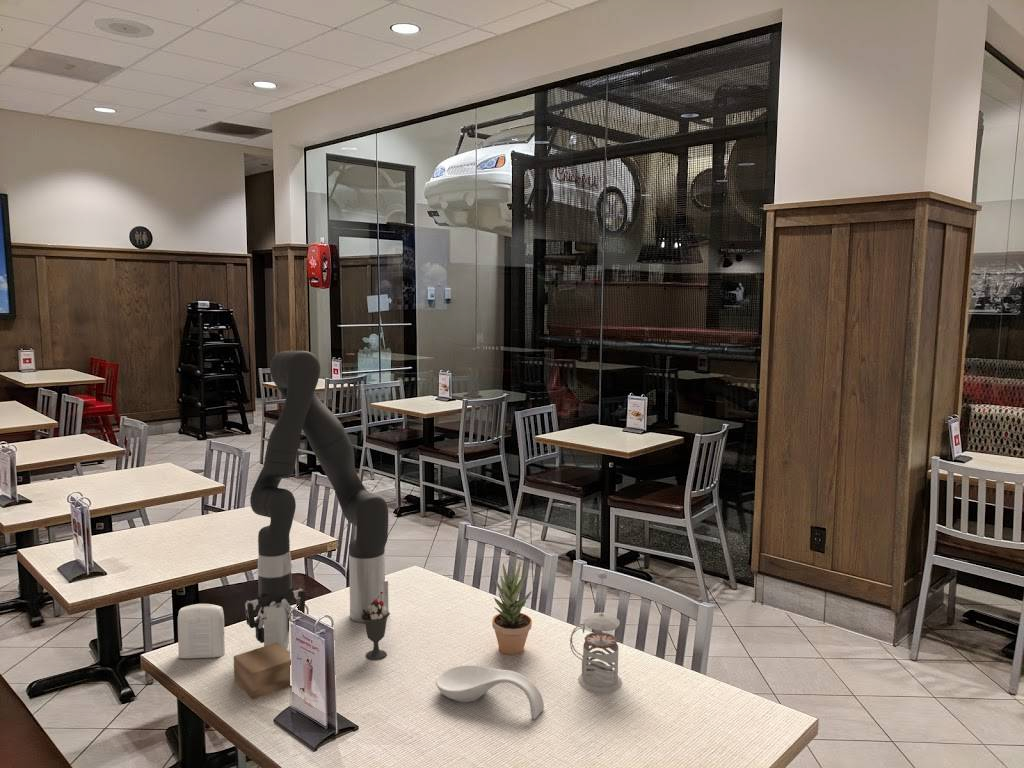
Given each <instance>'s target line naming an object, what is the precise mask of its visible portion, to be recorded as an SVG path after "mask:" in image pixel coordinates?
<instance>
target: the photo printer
mask: <svg viewBox="0 0 1024 768" xmlns="http://www.w3.org/2000/svg"><path fill="white" fill-rule="evenodd" d="M177 639H178V640H177V641H178V643H177V644H178V648H177V649H178V658H179V659H204V658H205V659H206V658H220V657H223V656H224V655H225V652H226V649H225V648H226V646H225V645H226V644H225V642H226V641H225V639H226V638H225V614H224V609H223V607H222V606H220V605H216V604H212V603H211V604H210V603H196V604H190V605H186V606H183V607H181V608H180V609H179V610H178V616H177Z"/></svg>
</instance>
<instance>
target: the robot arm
mask: <svg viewBox="0 0 1024 768" xmlns="http://www.w3.org/2000/svg"><path fill="white" fill-rule="evenodd" d="M269 372H270V376H271V379H272V381H273V383H274V384H275V386H276V388H277V389H278V391H279V392H280V394H281V395H282V397H283V398H284V400H285V402H284V406H283V407H282V411H281V413H280V415H279V417H278V419H277V420H276V422H275V424H274V426H273V428H272V429H271V430H272V431H271V433H270V434H269V438H268V441H267V444H266V450H265V454H264V455H265V456H264V460H263V467H261V471H260V472H259V474H258V476H257V479H256V481H255V484H254V485H253V488H252V490H251V494H250V498H249V500H250V501H249V502H250V508H251V510H252V512H254V514H256V515H258V516H261V517H266V518H270V522H269V523H270V524H269V525H267V526H263V527H261V528H260V529H259V531H258V536H257V545H258V546H257V549H258V556H257V557H258V559H257V582H258V583H257V584H258V585H257V587H258V596H257V598H256V599H253V600H249V599H247V600H245V602H244V610H245V611H244V612H245V620H246V624H247V625H248V626H249V627H250V629H253V628H255V638H256V640H257V642H259V643H260V644H264V619H267V614H266V612H265V614H264V607H266V606H268V607H272V606H275V604H277V603H282V604H284V607H285V609H286V610H287V612H288V614H290V611H291V609H293V607H292V606H291V601H292V600H293V598H295V599H296V603H295V605H296V606H298V605H299V606H298V607H297V608H298V610H300V611H302V612H303V613H304V614H305V613H306V591H305V590H304V589H303V588H301V587H299V588H297V590H293V583H292V582H293V580H292V579H293V577H292V576H293V575H292V568H293V566H292V565H293V564H292V556H291V549H290V548H291V547H290V545H291V544H290V543H291V541H290V534H291V530H292V524H293V521H294V517H295V513H296V507H297V506H296V503H297V502H296V499H295V496H294V494H293V493H292V492H291V491H290V490H289V489H286V488H281V487H279V485H280V483H281V481H282V479H287V478H290V477H291V476H293V475H294V472H295V468H296V462H297V457H298V456H297V455H298V450H299V445H300V440H301V434H302V432H303V433H304V435H305V437H306V440H307V441H308V443H309V446H310V449H312V452H313V453H314V456H315V457H316V460H318V462H319V464H320V466H321V468H322V470H323V471H324V474H325V476H326V477H327V479H328V481H329V482H330V484H331V486H332V488H333V490H334V492H335V496H336V498H337V501H338V503H339V506H340V509H341V512H342V514H343V516H344V517H345V519H346V520H347V522H349V523H350V524H352V525H354V526H355V527H356V536H355V539H353V540H352V541H350V542H349V545H348V558H349V559H348V562H349V563H348V565H349V566H348V567H349V569H348V571H349V573H348V574H349V576H348V577H349V617H350V619H351V621H354V622H357V623H365V620H362V618H361V614H362V613H363V611H362V610H363V609H365V611H366V610H367V607H368V606H369V604H371V603H372V602H373V601H374V600H375V599H377V598H378V597H379V598H378V599H377V600H378V602H380V601H381V599H382V601H383V602H384V605H383V606H385V607H386V609H387V611H388V612H389V611H390V610H389V580H388V579H387V578H386V558H385V557H386V555H385V554H386V553H385V551H386V545H387V542H388V537H389V506H388V504H387V501H386V500H385V499H384V498H383V497H382V496H380V495H377V494H375V493H373V492H369V491H368V490H367V488H366V486H364V484H363V482H362V480H361V478H360V477H359V475H358V473H357V470H356V466H355V452H354V448H353V443H352V441H351V439H350V437H349V435H348V433H347V430H346V429H345V427H344V426H343V424H342V423H341V421H340V420H339V418H337V416H336V415H335V414H334V413H333V412H332V411H331V410H330V409H329V408H328V406H326V405H325V404H324V403H323V402H322V401H321V400H320V398H319V397H318V396H317V394H316V392H315V391H316V388H317V387H318V386H317V385H318V382H319V379H320V375H321V364H320V361H319V359H318V357H317V356H316V355H315V353H313V352H310V351H307V350H283V351H279V352H277V353H276V354H275V355H274V356H273V357H272V359H271V360H270V364H269ZM380 592H383V593H382V596H381V594H380ZM258 605H259V606H260V608H259V610H258V612H257V617H255V613H254V611H255V610H256V609H257V606H258ZM296 606H295V607H296Z"/></svg>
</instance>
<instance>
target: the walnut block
mask: <svg viewBox="0 0 1024 768" xmlns="http://www.w3.org/2000/svg"><path fill="white" fill-rule="evenodd" d="M290 653H291V652H290V651H289V650H288V649H287V648H286V649H285V648H284V647H283V646H281V645H280V644H279V643H278V642H276V643H273V644H270V645H267V646H264V645H263V646H261V647H258V648H254V649H252V650H248V651H245V652H242V653H238V654H235V655H233V676H234V678H233V679H234V682H235V683H236V684H237V685H238V687H240V689H242V690H243V691H244V692H245V694H247V695H248V696H249V697H250V698H251V699H252V700H256V699H257V700H258V699H259V698H262V697H264V696H267V695H270V694H273V693H275V692H278V691H281V690H283V689H284V690H285V689H287V688H290V687H291V686H290V665H291V659H290Z"/></svg>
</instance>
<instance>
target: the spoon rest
mask: <svg viewBox="0 0 1024 768" xmlns="http://www.w3.org/2000/svg"><path fill="white" fill-rule="evenodd" d="M503 683H507V684H511V685H513V686H516V687H517V688H519V690H521V691H522V692H523V693H524V694H525V696H526V697H527V699H528V702H529V707H530V708H529V709H530V717H531V719H533V720H535V719H537V718H538V716H539V715H540V714H541V713H542V712H543V710H544V708H545V705H544V699H543V696H542V694H541V691H540V690H539V689H538V687H537V685H535V683H533V681H531V680H530V679H529V678H528V677H526V676H524V675H523V674H522V673H519V672H516V671H514V670H508V669H498V668H491V667H487V666H481V665H474V664H473V665H472V664H468V665H467V664H464V665H459V666H458V665H457V666H454V667H451V668H448V669H446V670H444V671H443V672H442V673H440V674H439V675H438V676H437V678H436V679H435V685H436V688H437V689H438V690H439V691H440V693H441V694H442V695H443V696H445V697H447V698H448V699H451V700H454V701H457V702H460V703H472V702H474V701H477V700H478V699H479V698H480V697H482V696H483V695H484V694H486V693H487V692H488V691H490V690H491V689H492V688H493V687H495V686H497V685H499V684H503Z"/></svg>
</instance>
